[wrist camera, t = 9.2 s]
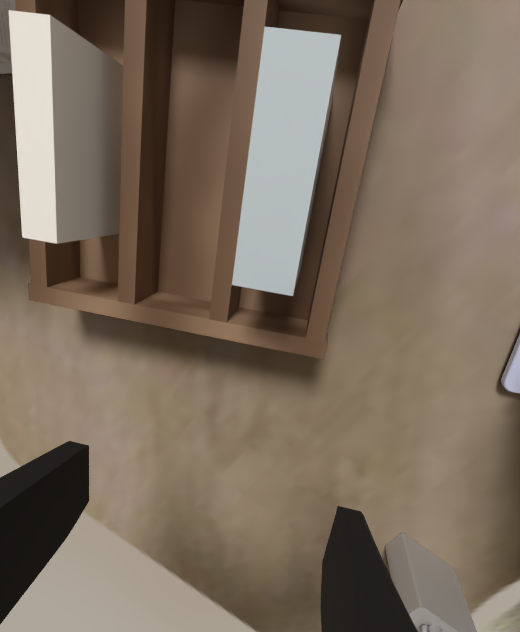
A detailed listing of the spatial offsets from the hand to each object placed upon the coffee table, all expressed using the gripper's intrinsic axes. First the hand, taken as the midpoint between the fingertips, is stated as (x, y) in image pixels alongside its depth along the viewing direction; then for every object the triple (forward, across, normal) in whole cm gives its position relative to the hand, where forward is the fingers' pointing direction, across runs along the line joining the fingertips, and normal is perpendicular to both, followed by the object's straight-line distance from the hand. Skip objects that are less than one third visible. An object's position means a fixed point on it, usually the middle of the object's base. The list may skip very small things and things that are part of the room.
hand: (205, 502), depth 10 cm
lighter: (+11, -13, +12) cm, 21 cm away
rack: (+10, +4, -9) cm, 14 cm away
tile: (+9, +8, -9) cm, 15 cm away
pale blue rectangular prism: (+9, 0, -9) cm, 13 cm away
